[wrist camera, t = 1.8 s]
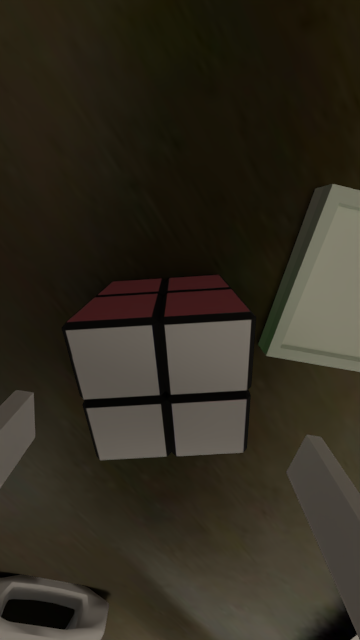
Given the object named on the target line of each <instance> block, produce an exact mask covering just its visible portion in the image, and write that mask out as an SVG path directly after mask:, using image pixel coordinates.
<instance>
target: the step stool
mask: <svg viewBox="0 0 360 640" xmlns="http://www.w3.org/2000/svg"><path fill="white" fill-rule="evenodd" d="M10 599H23V600H37V601H44V602H50V603H55V604H58V605H62V606H65V607H69V608H72V609H74V610H75V611H74V615H73V616H72V618H71V620H70V622H69V623H68V625H67V627H66V629H65V630H63V629H56V628H49V627H42V626H35V625H28V624H22V623H15V622H9V621H7V620H5V619H3V618H1V616H2V613H3V610H4V607H5V605H6V603H7V602H8V600H10ZM108 609H109V604H108V602H107V601H106V600H104V599H103V598H101V597H100V596H99V595H97V594H96V593H95V592H93V591H92V590H91V589H89V588H88V587H86V586H84V585H78V584H73V583H67V582H62V581H56V580H50V579H45V578H39V577H33V576H28V575H22V574H21V575H16V576H9V577H3V578H0V640H101V638H102V636H103V634H104V631H105V625H106V620H107V614H108Z"/></svg>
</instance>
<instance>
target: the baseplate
mask: <svg viewBox="0 0 360 640" xmlns="http://www.w3.org/2000/svg"><path fill="white" fill-rule="evenodd" d="M258 345H259V346H260V348H261V349H262V351H263V352H264V353H265V355H266V356H271V357H277V358H282V359H288V360H294V361H300V362H306V363H311V364H317V365H323V366H329V367H335V368H341V369H346V370H352V371H358V372H360V191H359V190H355V189H351V188H347V187H343V186H339V185H335V184H331V185H327V186H323V187H319V188H316V189H315V191H314V194H313V196H312V199H311V202H310V204H309V207H308V210H307V213H306V215H305V218H304V221H303V223H302V226H301V229H300V232H299V234H298V237H297V240H296V243H295V245H294V248H293V251H292V253H291V256H290V259H289V262H288V264H287V267H286V270H285V273H284V275H283V278H282V281H281V283H280V286H279V289H278V292H277V294H276V297H275V300H274V303H273V305H272V308H271V311H270V313H269V316H268V319H267V322H266V324H265V327H264V330H263V333H262V335H261V338H260V341H259V343H258Z"/></svg>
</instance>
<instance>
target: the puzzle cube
mask: <svg viewBox="0 0 360 640" xmlns="http://www.w3.org/2000/svg"><path fill="white" fill-rule="evenodd" d="M255 325H256V316H255V315H254V314H253V313H252V312H251V310H250V309H249V308H248V307H247V306H246V305H245V304H244V302H243V301H242V300H241V299H240V298H239V297H238V296H237V294H236V293H235V292H234V291H233V290H232V289H231V288H230V286H229V285H228V284H227V283H226V282H225V281H224V280H223V279H222V278H221V277H220V276H219V275H208V276H192V277H176V278H169V279H168V280H167V281H166V282H165V281H164V280H163V279H162V278H161V279H145V280H129V281H113V282H111V283H110V284H109V285H108V286H107V287H106V288H105V289H104V290H102V291H101V292H100V293H99V294H98V295H97V296H96V297H94V298H93V299H92V300H91V301H90V302H88V303H87V304H86V305H85V306H84V307H83V308H82V309H80V310H79V311H78V312H77V313H76V314H75V315H74V316H72V317H71V318H70V319H69V320H68V321H67V322H66V323H65V324H64V326H63V327H62V331H63V335H64V338H65V342H66V346H67V349H68V353H69V357H70V360H71V364H72V368H73V371H74V375H75V379H76V382H77V386H78V390H79V393H80V396H81V397H82V398H83V399H84V400H85V401H84V403H83V408H84V412H85V415H86V419H87V423H88V426H89V430H90V434H91V437H92V441H93V445H94V448H95V452H96V456H97V457H98V459H99V460H117V459H135V458H152V457H167V456H168V455H169V454H170V453H171V452H172V453H173V454H174V455H176V456H189V455H207V454H225V453H242V452H244V451H245V450H246V448H247V439H248V425H249V411H250V397H251V395H250V393H249V390H248V389H249V388H250V387H251V381H252V367H253V353H254V339H255Z"/></svg>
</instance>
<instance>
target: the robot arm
mask: <svg viewBox="0 0 360 640" xmlns="http://www.w3.org/2000/svg"><path fill="white" fill-rule="evenodd" d="M34 438H35V416H34V393H33V392H26V391H20V390H16V391H15V392H13V393H12V394H11V395H10V396H9V397H8V398H7V399H6V400H5V401H4V402H3V403H2V404H1V405H0V488H1V486H2V485H3V483H4V482H5V481H6V479H7V478H8V476H9V475H10V473H11V472H12V470H13V469H14V467H15V466H16V465H17V463H18V462H19V460H20V459H21V457H22V456H23V454H24V453H25V451H26V450H27V449H28V447H29V446H30V444H31V443H32V441H33V440H34ZM286 473H287V475H288V477H289V479H290V482H291V484H292V486H293V489H294V491H295V493H296V495H297V498H298V500H299V502H300V505H301V507H302V509H303V511H304V514H305V516H306V518H307V520H308V523H309V525H310V527H311V530H312V532H313V534H314V536H315V539H316V541H317V543H318V546H319V548H320V550H321V552H322V555H323V557H324V559H325V562H326V564H327V566H328V568H329V571H330V573H331V575H332V577H333V580H334V582H335V584H336V587H337V589H338V591H339V593H340V596H341V598H342V600H343V603H344V605H345V607H346V609H347V612H348V614H349V616H350V619H351V621H352V623H353V625H354V628H355V630H356V632H357V634H358V637H359V639H360V494H359V492H358V491H357V489H356V488H355V486H354V485H353V483H352V482H351V480H350V479H349V477H348V476H347V474H346V473H345V471H344V470H343V468H342V467H341V466H340V464H339V463H338V461H337V460H336V458H335V457H334V455H333V454H332V452H331V451H330V449H329V448H328V446H327V445H326V443H325V442H324V440H323V439H322V438H321V437H319V436H312V435H306V437H305V439H304V440H303V442H302V444H301V446H300V448H299V450H298V452H297V453H296V455H295V457H294V459H293V461H292V463H291V465H290V467H289V468H288V470H287V472H286Z"/></svg>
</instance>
